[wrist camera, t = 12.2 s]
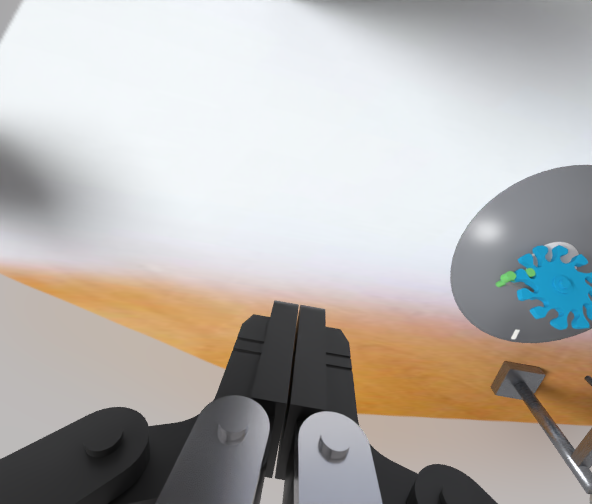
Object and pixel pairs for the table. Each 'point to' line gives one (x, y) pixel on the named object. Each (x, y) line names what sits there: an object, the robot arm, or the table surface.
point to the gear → (553, 286)
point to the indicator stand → (545, 417)
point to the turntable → (523, 251)
